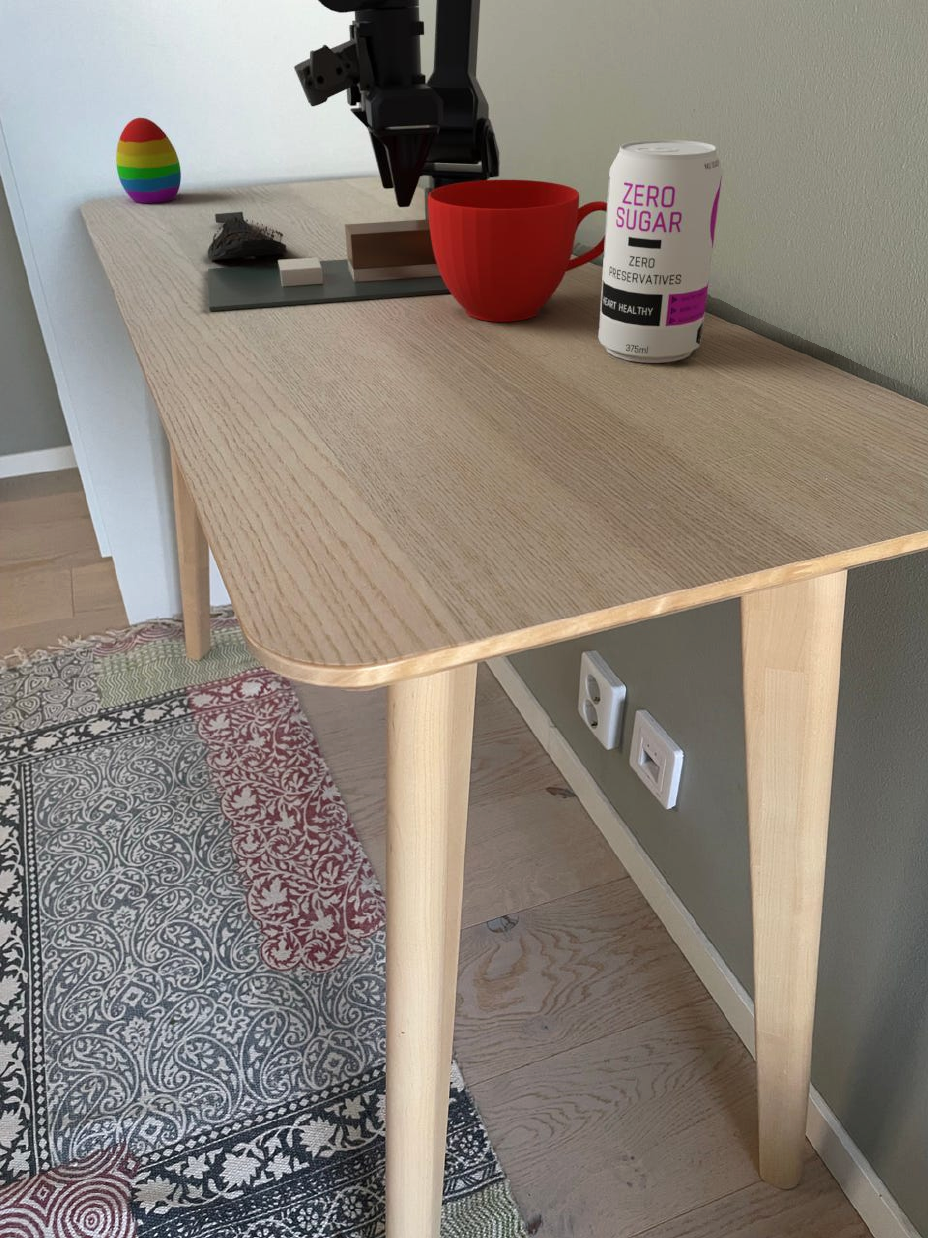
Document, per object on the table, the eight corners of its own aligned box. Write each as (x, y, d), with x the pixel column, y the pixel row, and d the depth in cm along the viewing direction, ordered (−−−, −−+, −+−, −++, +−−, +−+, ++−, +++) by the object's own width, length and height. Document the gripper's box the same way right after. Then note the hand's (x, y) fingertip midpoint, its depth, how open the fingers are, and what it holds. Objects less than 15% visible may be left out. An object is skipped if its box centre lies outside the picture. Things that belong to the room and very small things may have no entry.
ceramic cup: (635, 324, 85) (646, 201, 79) (445, 338, 82) (442, 212, 77) (590, 284, 96) (596, 174, 90) (420, 296, 93) (416, 183, 87)
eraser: (444, 263, 101) (443, 218, 99) (453, 275, 98) (452, 227, 95) (348, 270, 99) (344, 224, 97) (354, 282, 96) (350, 234, 93)
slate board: (435, 256, 105) (435, 252, 105) (463, 292, 94) (463, 287, 94) (208, 272, 101) (208, 268, 101) (209, 311, 90) (209, 306, 89)
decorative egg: (123, 195, 135) (108, 115, 130) (183, 191, 137) (171, 112, 132) (122, 207, 129) (106, 123, 123) (186, 203, 131) (172, 119, 125)
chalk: (319, 273, 99) (317, 257, 98) (323, 283, 95) (321, 267, 95) (279, 276, 98) (277, 259, 97) (282, 286, 95) (280, 269, 94)
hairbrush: (257, 195, 120) (291, 227, 100) (261, 226, 122) (295, 264, 101) (189, 200, 118) (209, 234, 97) (194, 232, 120) (215, 272, 99)
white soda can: (686, 331, 83) (709, 137, 75) (710, 364, 76) (738, 155, 68) (591, 333, 83) (604, 139, 75) (606, 367, 76) (622, 157, 68)
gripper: (287, 5, 92) (304, 183, 101) (303, 14, 77) (322, 222, 86) (403, 3, 94) (410, 178, 103) (442, 10, 79) (446, 215, 88)
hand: (395, 197), depth 95 cm, fingers open, 9 cm apart
